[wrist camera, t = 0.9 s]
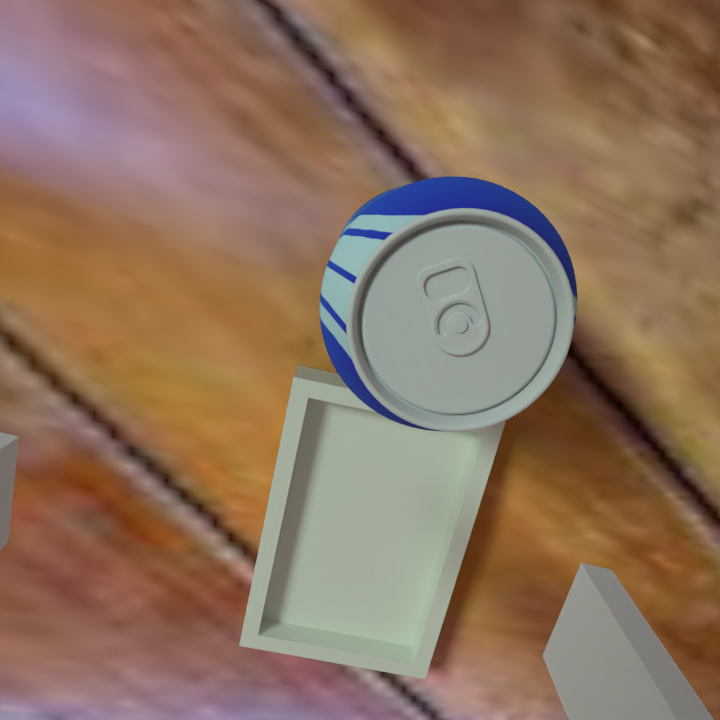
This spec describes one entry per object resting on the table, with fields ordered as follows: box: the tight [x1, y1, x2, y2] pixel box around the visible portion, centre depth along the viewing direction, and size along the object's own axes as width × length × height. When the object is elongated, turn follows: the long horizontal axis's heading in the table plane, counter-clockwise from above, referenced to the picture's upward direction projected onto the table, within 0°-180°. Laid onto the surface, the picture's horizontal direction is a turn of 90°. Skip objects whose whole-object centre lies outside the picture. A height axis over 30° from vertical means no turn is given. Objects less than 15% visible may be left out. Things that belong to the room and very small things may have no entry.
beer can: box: [320, 177, 577, 432], centre depth 24 cm, size 8×8×16 cm
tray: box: [239, 365, 506, 679], centre depth 35 cm, size 18×12×2 cm, turn 167°
